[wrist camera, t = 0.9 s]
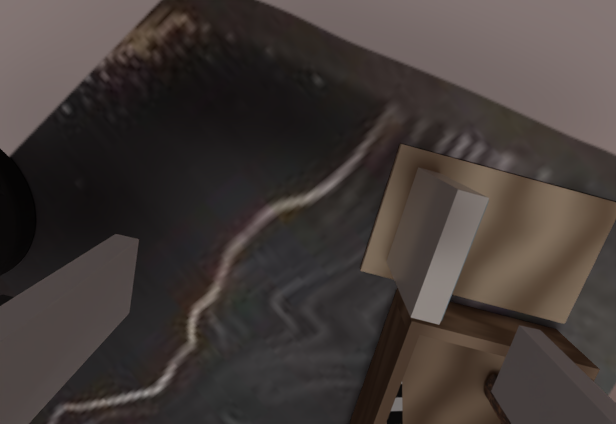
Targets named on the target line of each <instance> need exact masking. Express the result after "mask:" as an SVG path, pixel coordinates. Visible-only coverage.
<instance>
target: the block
mask: <svg viewBox="0 0 616 424" xmlns="http://www.w3.org/2000/svg"><path fill="white" fill-rule="evenodd" d="M488 200H489V198H488V197H486V196H484V195H482V194H480V193H478V192H476V191H474V190H472V189H471V188H469V187H467V186H465V185H463V184H461V183H459V182H457V181H455V180H453V179H451V178H449V177H447V176H445V175H443V174H441V173H438V172H434V171H430V170H427V169H423V168H419V167H418V169H417V172H416V175H415V178H414V181H413V184H412V187H411V190H410V193H409V196H408V199H407V202H406V205H405V208H404V211H403V214H402V217H401V220H400V223H399V226H398V229H397V232H396V234H395V237H394V240H393V243H392V246H391V249H390V252H389V255H388V258H387V261H386V262H387V264H388V267H389V269H390V271H391V274H392V276H393V278H394V280H395V283H396V285H397V287H398V290H399V292H400V294H401V296H402V299H403V301H404V303H405V306H406V308H407V310H408V312H409V315H410V317H411V318H415V319H419V320H423V321H427V322H430V323H434V324H438V325H439V324H440V322H441V321H442V319H443V316H444V314H445V311H446V309H447V306H448V304H449V301H450V299H451V296H452V293H453V291H454V288H455V286H456V283H457V281H458V278H459V276H460V273H461V271H462V268H463V266H464V263H465V261H466V258H467V255H468V253H469V250H470V248H471V245H472V243H473V240H474V238H475V235H476V233H477V230H478V228H479V225H480V222H481V220H482V217H483V215H484V212H485V210H486V207H487V205H488V202H489V201H488Z"/></svg>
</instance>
